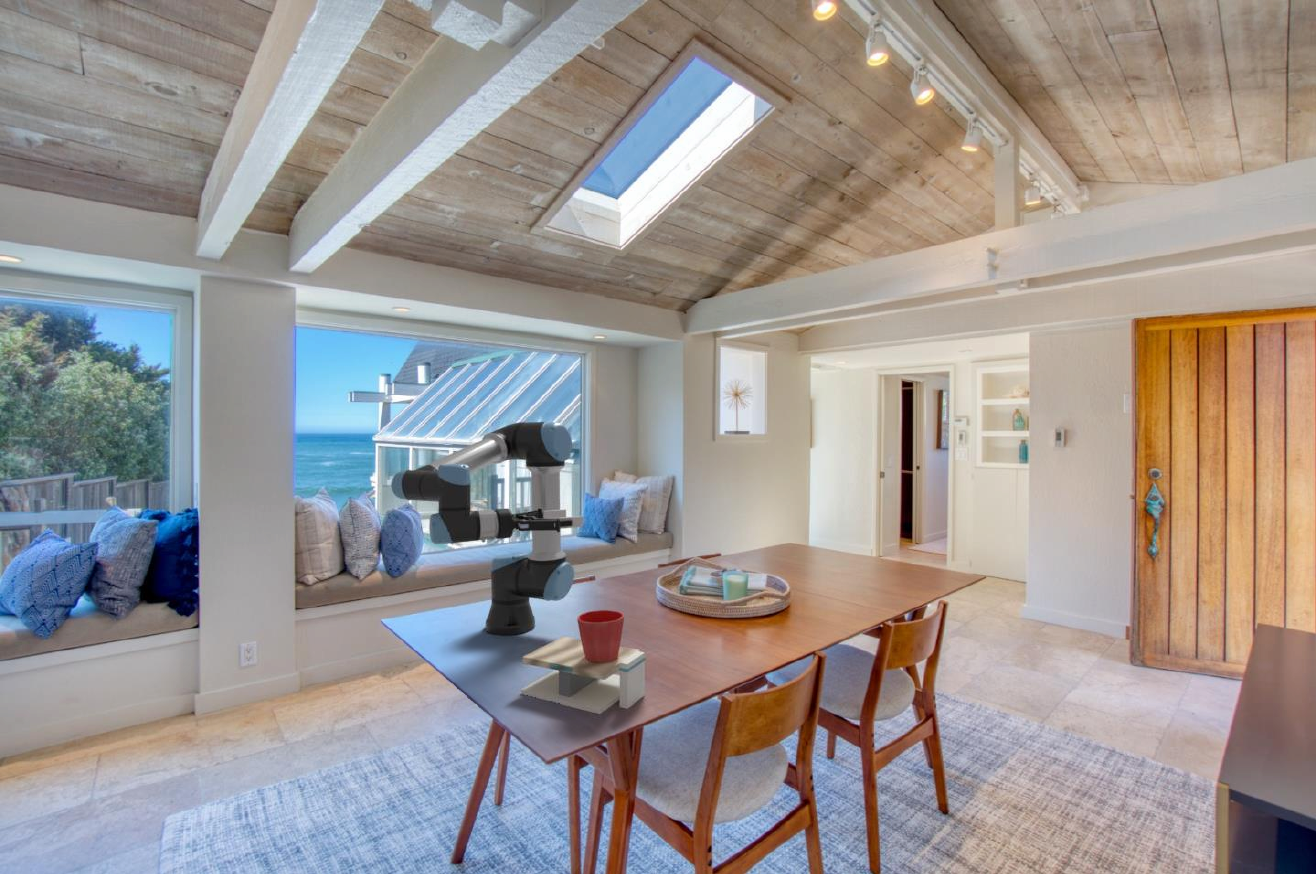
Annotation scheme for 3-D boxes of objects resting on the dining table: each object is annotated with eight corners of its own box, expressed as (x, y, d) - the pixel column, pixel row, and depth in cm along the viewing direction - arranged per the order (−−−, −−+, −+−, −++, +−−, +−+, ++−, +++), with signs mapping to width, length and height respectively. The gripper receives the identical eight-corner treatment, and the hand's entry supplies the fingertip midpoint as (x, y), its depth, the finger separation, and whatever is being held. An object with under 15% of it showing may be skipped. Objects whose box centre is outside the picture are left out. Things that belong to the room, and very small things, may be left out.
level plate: (521, 663, 141) (521, 657, 141) (563, 642, 155) (562, 636, 155) (603, 680, 130) (603, 673, 130) (640, 656, 144) (639, 649, 144)
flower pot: (578, 650, 145) (578, 610, 145) (624, 648, 146) (623, 608, 146) (576, 666, 134) (576, 623, 134) (625, 664, 135) (624, 621, 135)
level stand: (520, 693, 140) (521, 651, 140) (566, 667, 156) (566, 629, 156) (615, 718, 128) (615, 672, 128) (655, 687, 144) (655, 645, 144)
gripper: (484, 531, 163) (559, 524, 173) (507, 547, 141) (591, 539, 151) (484, 503, 162) (559, 498, 172) (506, 516, 140) (590, 509, 150)
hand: (574, 517), depth 161 cm, fingers open, 13 cm apart
